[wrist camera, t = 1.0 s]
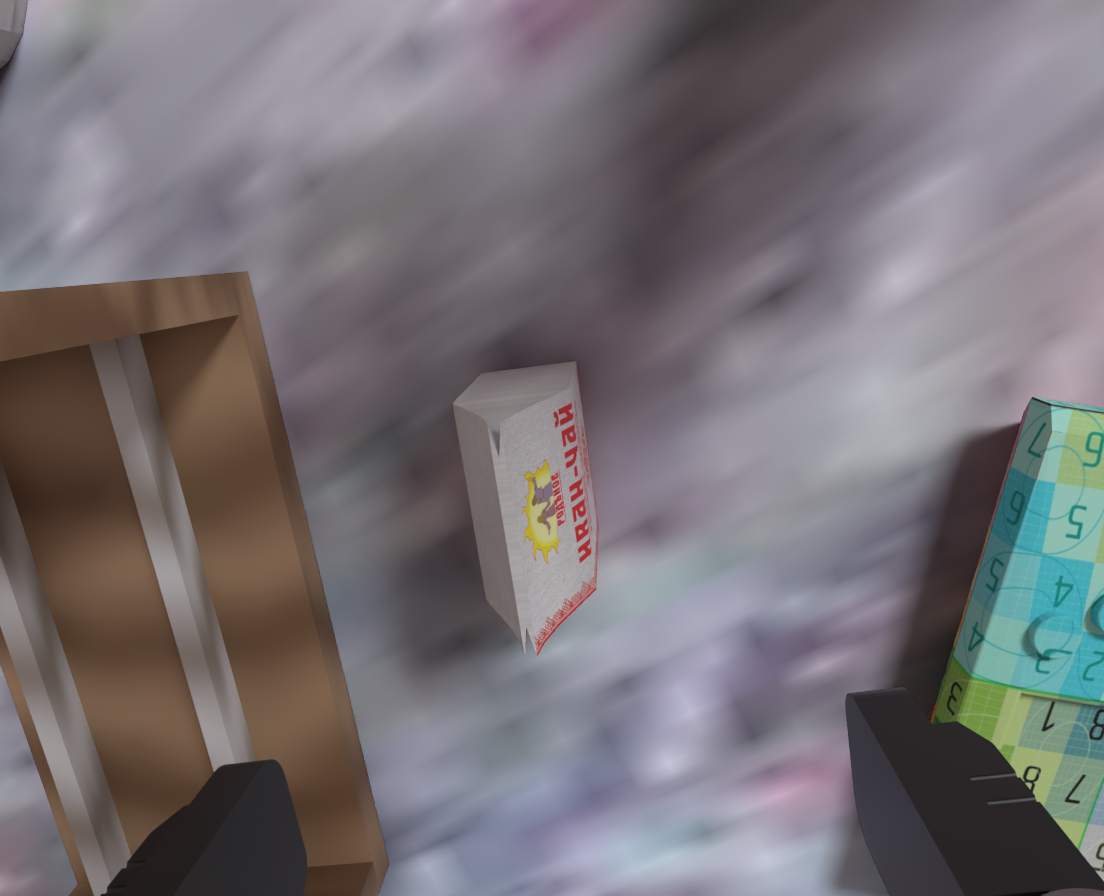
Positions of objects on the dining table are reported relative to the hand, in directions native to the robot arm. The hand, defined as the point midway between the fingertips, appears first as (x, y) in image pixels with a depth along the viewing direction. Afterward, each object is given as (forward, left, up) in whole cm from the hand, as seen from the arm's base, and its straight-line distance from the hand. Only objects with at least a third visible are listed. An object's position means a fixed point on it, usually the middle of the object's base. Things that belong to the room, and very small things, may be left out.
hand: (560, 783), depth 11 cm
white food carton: (0, -2, -21) cm, 21 cm away
